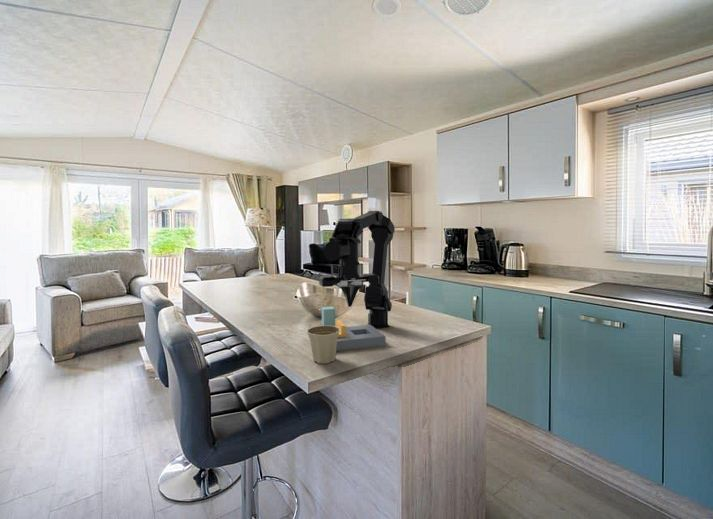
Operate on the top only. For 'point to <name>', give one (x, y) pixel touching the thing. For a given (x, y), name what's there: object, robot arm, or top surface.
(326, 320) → the plug
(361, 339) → the socket plate
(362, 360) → the top surface
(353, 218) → the robot arm
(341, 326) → the orange block
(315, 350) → the flower pot
